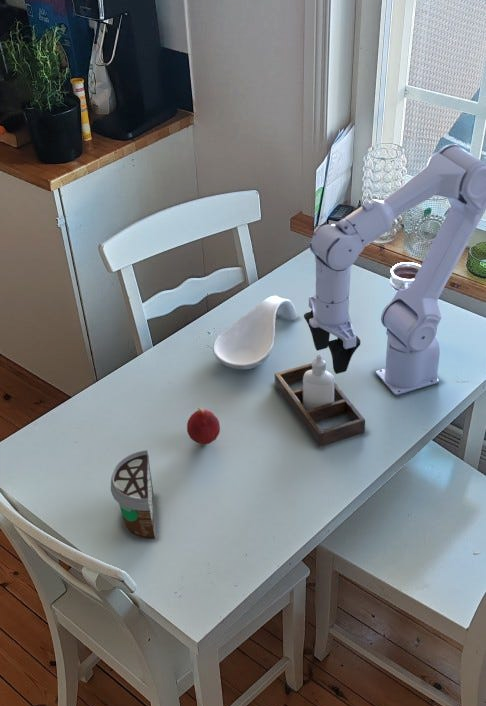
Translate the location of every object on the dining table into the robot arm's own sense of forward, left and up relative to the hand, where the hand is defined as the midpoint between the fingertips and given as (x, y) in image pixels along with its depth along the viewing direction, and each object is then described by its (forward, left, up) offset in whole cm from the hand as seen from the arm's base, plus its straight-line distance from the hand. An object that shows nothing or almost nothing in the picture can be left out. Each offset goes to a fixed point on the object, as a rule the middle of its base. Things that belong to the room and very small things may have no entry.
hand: (330, 359), depth 165 cm
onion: (+25, 0, -11) cm, 27 cm away
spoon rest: (+4, -24, -11) cm, 26 cm away
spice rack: (+2, 0, -11) cm, 11 cm away
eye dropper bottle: (+2, 0, -11) cm, 11 cm away
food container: (+42, +13, -11) cm, 45 cm away
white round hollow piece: (-26, -18, -11) cm, 33 cm away
